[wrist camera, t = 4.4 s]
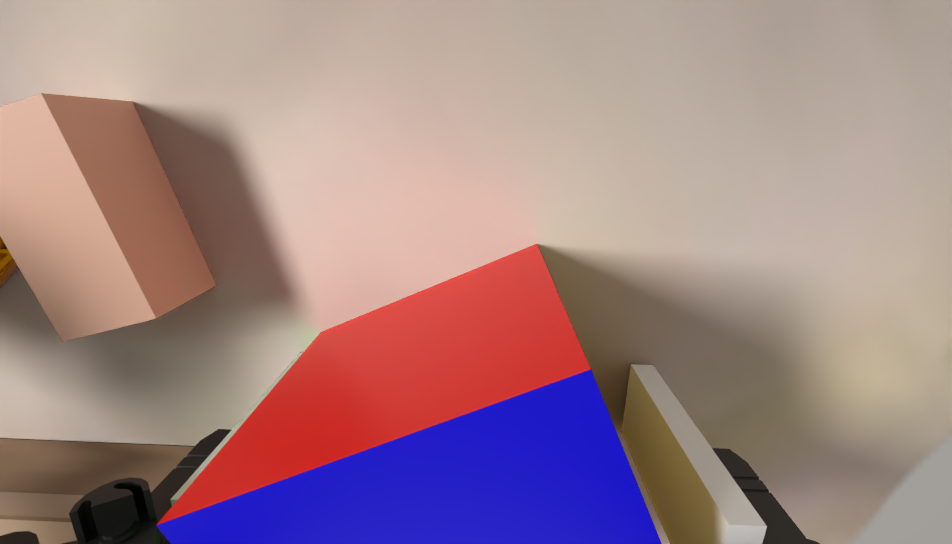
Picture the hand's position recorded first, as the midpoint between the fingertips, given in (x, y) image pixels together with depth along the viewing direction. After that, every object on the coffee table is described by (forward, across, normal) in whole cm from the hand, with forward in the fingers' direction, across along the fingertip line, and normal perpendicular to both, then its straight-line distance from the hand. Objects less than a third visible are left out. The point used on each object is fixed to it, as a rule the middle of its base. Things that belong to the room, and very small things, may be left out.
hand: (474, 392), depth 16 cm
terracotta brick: (0, -11, +6) cm, 13 cm away
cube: (+1, 0, 0) cm, 1 cm away
